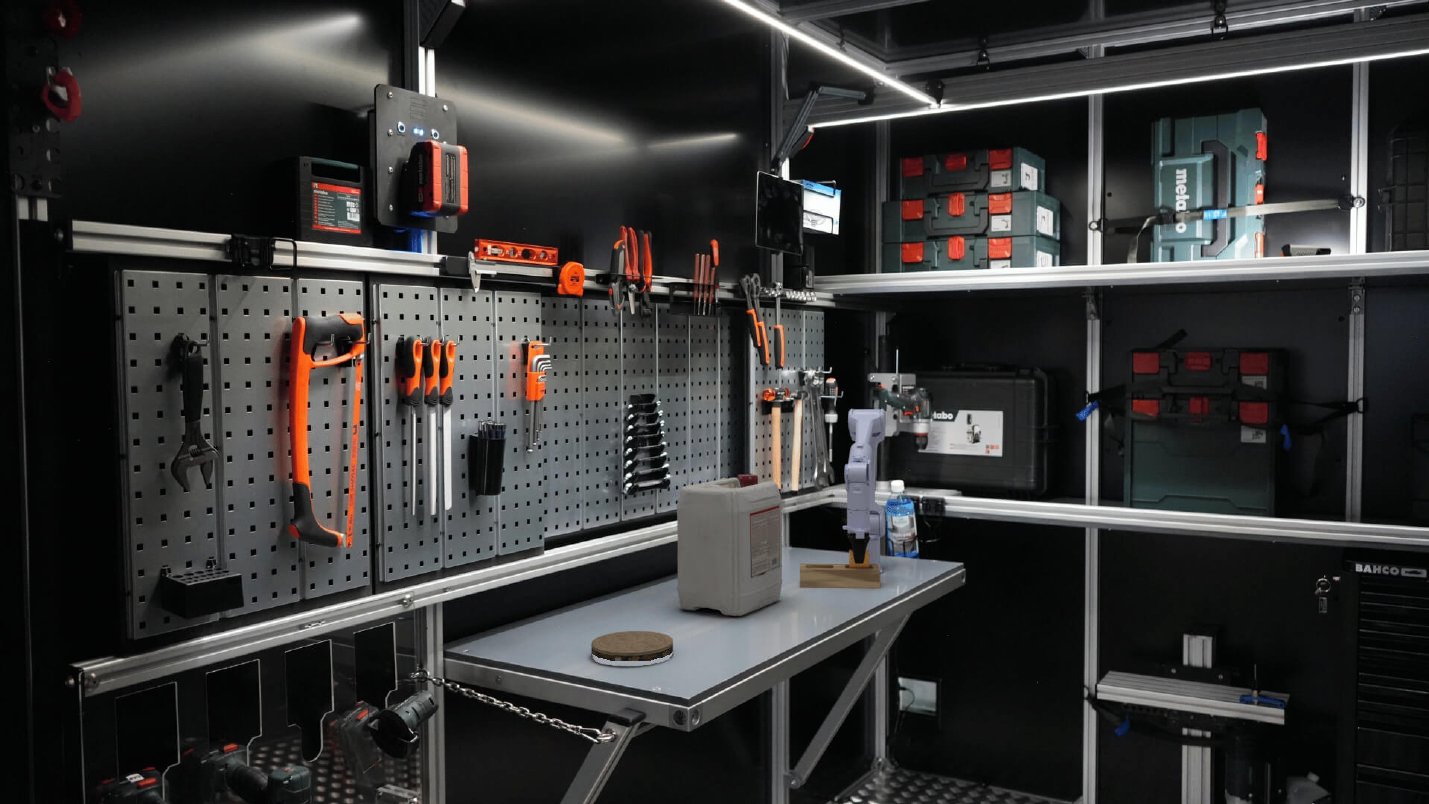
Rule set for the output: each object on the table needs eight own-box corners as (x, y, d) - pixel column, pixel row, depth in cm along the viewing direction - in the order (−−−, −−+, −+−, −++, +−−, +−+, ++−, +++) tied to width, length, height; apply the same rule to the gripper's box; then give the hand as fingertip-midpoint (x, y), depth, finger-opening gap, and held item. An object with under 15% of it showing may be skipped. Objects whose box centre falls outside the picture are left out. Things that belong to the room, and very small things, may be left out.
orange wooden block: (848, 577, 259) (849, 550, 259) (868, 577, 259) (868, 550, 259) (849, 579, 257) (849, 551, 257) (869, 579, 257) (869, 552, 256)
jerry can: (722, 591, 252) (720, 471, 251) (789, 599, 242) (788, 474, 242) (669, 611, 232) (667, 481, 231) (740, 621, 222) (738, 485, 221)
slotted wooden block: (800, 580, 263) (800, 563, 263) (877, 581, 262) (877, 563, 261) (800, 587, 255) (799, 569, 255) (880, 587, 254) (879, 570, 254)
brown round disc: (690, 655, 197) (690, 639, 197) (631, 674, 185) (630, 657, 185) (634, 641, 208) (633, 626, 208) (574, 658, 196) (574, 643, 196)
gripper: (841, 505, 265) (842, 556, 265) (843, 513, 251) (844, 567, 251) (868, 505, 264) (869, 557, 265) (872, 513, 250) (872, 567, 250)
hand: (858, 562), depth 258 cm, fingers closed on orange wooden block, 2 cm apart
